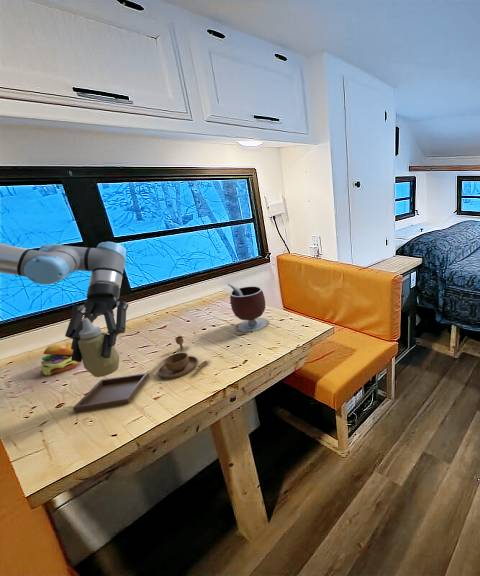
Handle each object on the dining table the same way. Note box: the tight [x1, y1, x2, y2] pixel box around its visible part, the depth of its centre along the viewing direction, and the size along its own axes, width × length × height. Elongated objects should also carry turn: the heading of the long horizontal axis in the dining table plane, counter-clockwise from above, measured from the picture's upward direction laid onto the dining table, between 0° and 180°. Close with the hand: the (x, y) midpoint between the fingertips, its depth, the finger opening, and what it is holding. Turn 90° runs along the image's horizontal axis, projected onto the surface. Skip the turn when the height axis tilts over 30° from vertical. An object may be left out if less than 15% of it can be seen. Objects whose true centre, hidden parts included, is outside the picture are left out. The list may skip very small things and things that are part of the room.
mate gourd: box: [227, 283, 268, 333], centre depth 135 cm, size 16×14×20 cm
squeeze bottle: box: [78, 317, 120, 378], centre depth 90 cm, size 8×8×18 cm
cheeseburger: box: [40, 343, 80, 376], centre depth 110 cm, size 10×11×10 cm
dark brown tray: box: [72, 372, 150, 413], centre depth 96 cm, size 14×14×2 cm
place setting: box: [157, 335, 208, 379], centre depth 111 cm, size 18×20×6 cm
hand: (91, 358), depth 88 cm, fingers closed on squeeze bottle, 6 cm apart
